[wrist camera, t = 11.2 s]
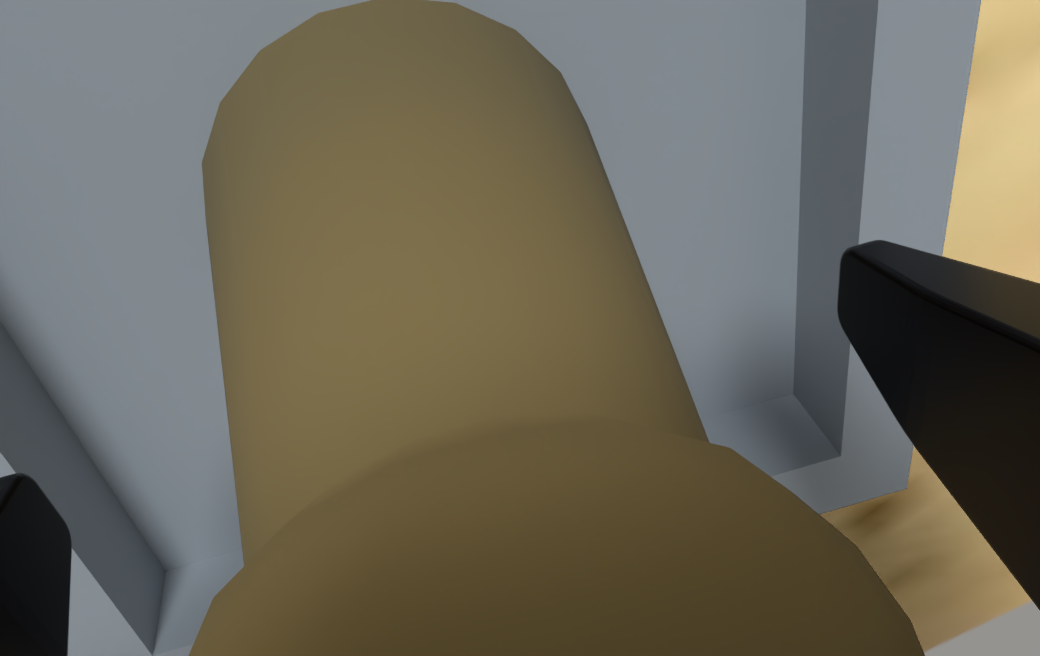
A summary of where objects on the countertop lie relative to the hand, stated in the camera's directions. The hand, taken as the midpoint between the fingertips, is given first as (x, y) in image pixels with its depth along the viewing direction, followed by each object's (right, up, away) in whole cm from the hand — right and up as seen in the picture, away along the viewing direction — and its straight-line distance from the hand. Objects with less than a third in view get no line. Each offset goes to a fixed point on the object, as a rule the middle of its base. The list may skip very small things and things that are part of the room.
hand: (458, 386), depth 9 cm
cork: (-1, +3, +4) cm, 5 cm away
